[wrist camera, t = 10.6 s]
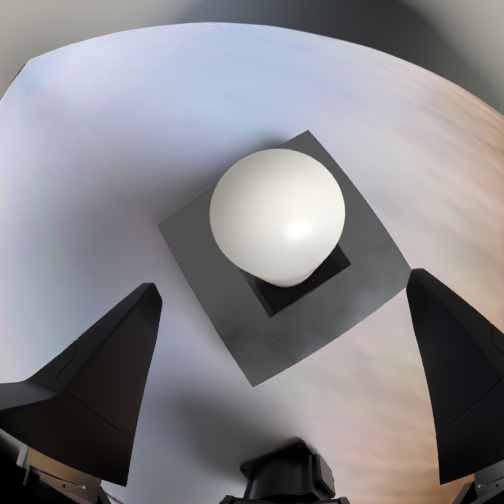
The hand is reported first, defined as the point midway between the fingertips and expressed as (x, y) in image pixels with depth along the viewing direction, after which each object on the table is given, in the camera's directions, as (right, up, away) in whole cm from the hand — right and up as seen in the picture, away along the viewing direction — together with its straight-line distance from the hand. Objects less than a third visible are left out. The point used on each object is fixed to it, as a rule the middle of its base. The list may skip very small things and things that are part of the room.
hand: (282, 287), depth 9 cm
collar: (+2, +1, +12) cm, 13 cm away
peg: (+2, +1, +12) cm, 13 cm away
